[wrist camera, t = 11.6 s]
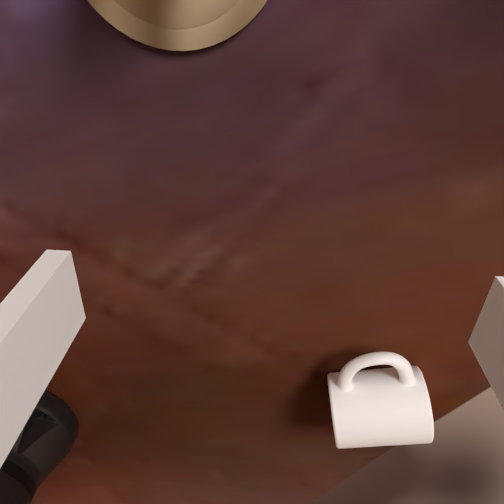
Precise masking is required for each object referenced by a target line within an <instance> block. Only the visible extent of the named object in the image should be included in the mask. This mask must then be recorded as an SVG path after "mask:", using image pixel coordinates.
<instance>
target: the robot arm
mask: <svg viewBox="0 0 504 504" xmlns="http://www.w3.org/2000/svg"><path fill="white" fill-rule="evenodd" d="M85 319H86V318H85V313H84V309H83V304H82V300H81V295H80V290H79V286H78V281H77V277H76V272H75V268H74V263H73V259H72V254H71V251H61V250H46V251H45V252H44V253H43V254H42V256H41V257H40V258H39V259H38V260H37V261H36V263H35V264H34V265H33V266H32V267H31V268H30V270H29V271H28V272H27V273H26V274H25V275H24V277H23V278H22V279H21V280H20V281H19V282H18V284H17V285H16V286H15V287H14V288H13V289H12V291H11V292H10V293H9V294H8V295H7V296H6V298H5V299H4V300H3V301H2V302H1V303H0V504H30V503H31V501H32V499H33V496H34V494H35V492H36V490H37V488H38V487H39V486H40V484H41V483H42V482H43V481H44V480H45V479H46V478H47V476H48V475H49V474H50V473H51V472H52V471H53V470H54V469H55V467H56V466H57V465H58V464H59V463H60V462H61V461H62V459H63V458H64V457H65V456H66V455H67V454H68V452H69V451H70V449H71V448H72V445H73V443H74V441H75V439H76V437H77V434H78V422H77V419H76V417H75V415H74V414H73V412H72V411H71V410H70V408H69V407H68V406H67V405H66V404H65V403H64V402H62V401H61V400H60V399H59V398H57V397H56V396H54V395H52V394H51V393H49V392H47V391H45V389H46V387H47V386H48V384H49V382H50V380H51V378H52V377H53V375H54V373H55V371H56V370H57V368H58V366H59V364H60V363H61V361H62V359H63V357H64V356H65V354H66V352H67V350H68V349H69V347H70V345H71V343H72V342H73V340H74V338H75V336H76V334H77V333H78V331H79V329H80V327H81V326H82V324H83V322H84V320H85ZM468 343H469V345H470V347H471V349H472V351H473V353H474V354H475V356H476V358H477V360H478V362H479V364H480V366H481V368H482V370H483V372H484V374H485V376H486V377H487V379H488V381H489V383H490V385H491V387H492V389H493V391H494V393H495V394H496V397H497V398H498V400H499V402H500V404H501V406H502V408H503V410H504V277H500V276H495V279H494V281H493V284H492V286H491V289H490V291H489V293H488V296H487V298H486V301H485V303H484V305H483V308H482V310H481V313H480V315H479V318H478V320H477V322H476V325H475V327H474V330H473V332H472V335H471V337H470V339H469V342H468Z"/></svg>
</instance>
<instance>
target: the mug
mask: <svg viewBox="0 0 504 504" xmlns="http://www.w3.org/2000/svg"><path fill="white" fill-rule="evenodd" d="M382 364H386V365H391V366H393V367H392V368H381V369H369V370H361V369H363V368H365V367H369V366H374V365H382ZM327 379H328V389H329V398H330V406H331V414H332V422H333V429H334V436H335V442H336V447H337V448H339V449H340V448H356V447H373V446H390V445H407V444H423V443H431V442H432V441H433V438H434V423H433V415H432V408H431V403H430V398H429V394H428V390H427V386H426V383H425V380H424V377H423V375H422V372H421V370H420V369H419V368H418V367H417V366H411V365H410V363H409V362H408V361H407V360H406V359H405V358H404V357H402V356H401V355H399V354H396V353H392V352H372V353H368V354H364V355H361V356H358V357H356V358H354V359H352V360H351V361H349V362H348V363H347V364H345V365H344V367H343V368H342V369H341V371H340V372H335V373H328V375H327Z"/></svg>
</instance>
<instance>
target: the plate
mask: <svg viewBox="0 0 504 504" xmlns="http://www.w3.org/2000/svg"><path fill="white" fill-rule="evenodd" d="M87 1H88V2H89V3H90V4H91V6H92V7H93V8H94V9H95V10H96V11H97V12H98V13H99V14H100V15H101V16H102V17H103V18H104V19H105V20H106V21H107V22H109V23H110V24H111V25H112V26H114V27H115V28H116V29H118V30H119V31H121V32H122V33H124V34H125V35H127V36H129V37H130V38H132V39H134V40H137V41H139V42H141V43H143V44H146V45H149V46H152V47H155V48H159V49H165V50H171V51H190V50H197V49H202V48H206V47H209V46H213V45H215V44H218V43H220V42H222V41H224V40H226V39H228V38H229V37H231V36H233V35H234V34H236V33H237V32H239V31H240V30H241V29H242V28H243V27H245V26H246V25H247V24H248V23H249V22H250V21H251V20H252V19H253V18H254V17H255V16H256V15H257V14H258V12H259V11H260V10H261V9H262V7H263V6H264V4H265V3H266V1H267V0H87Z"/></svg>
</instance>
